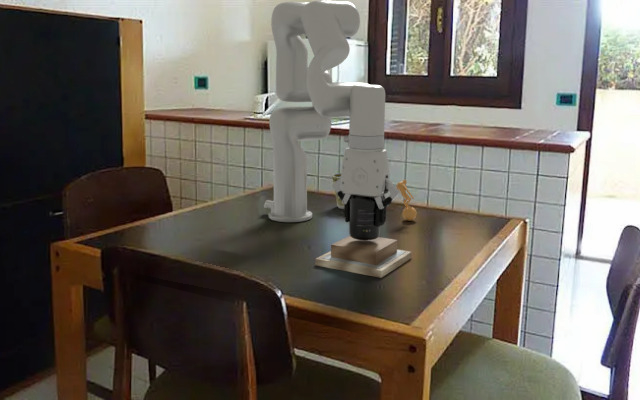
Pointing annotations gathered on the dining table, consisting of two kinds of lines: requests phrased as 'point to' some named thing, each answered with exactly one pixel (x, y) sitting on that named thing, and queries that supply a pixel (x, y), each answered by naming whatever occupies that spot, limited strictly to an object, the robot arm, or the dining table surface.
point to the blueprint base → (362, 268)
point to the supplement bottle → (363, 218)
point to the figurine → (408, 212)
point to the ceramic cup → (338, 199)
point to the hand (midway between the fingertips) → (364, 222)
